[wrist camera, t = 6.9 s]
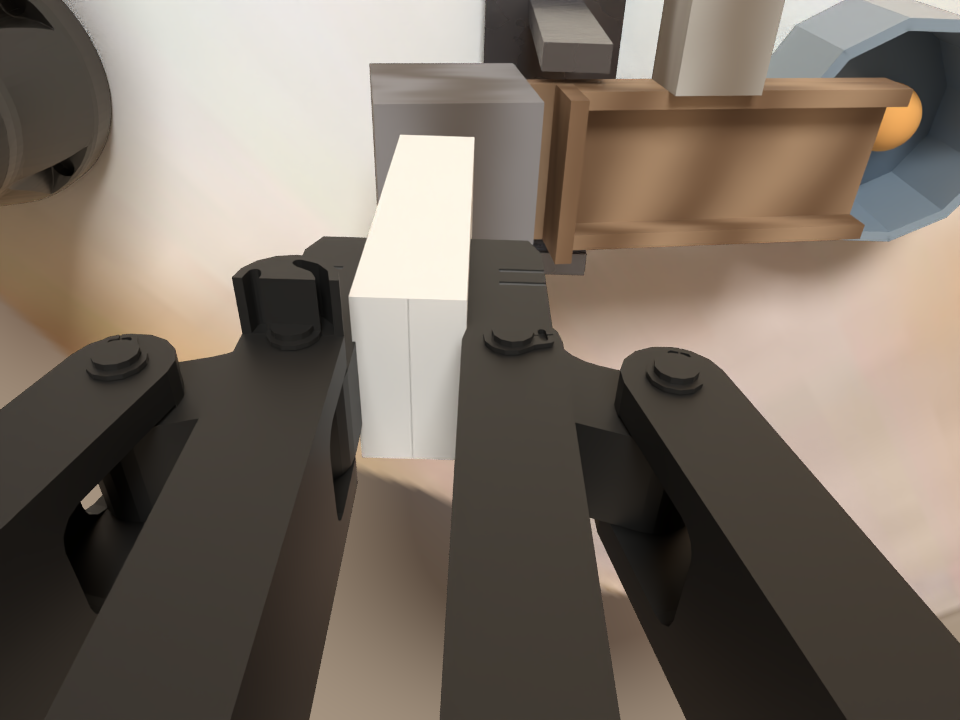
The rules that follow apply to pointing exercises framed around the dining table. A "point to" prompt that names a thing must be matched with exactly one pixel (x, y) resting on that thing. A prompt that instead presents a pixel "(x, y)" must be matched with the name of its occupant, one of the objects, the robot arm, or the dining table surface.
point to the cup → (902, 58)
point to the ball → (898, 124)
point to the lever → (651, 140)
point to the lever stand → (556, 55)
